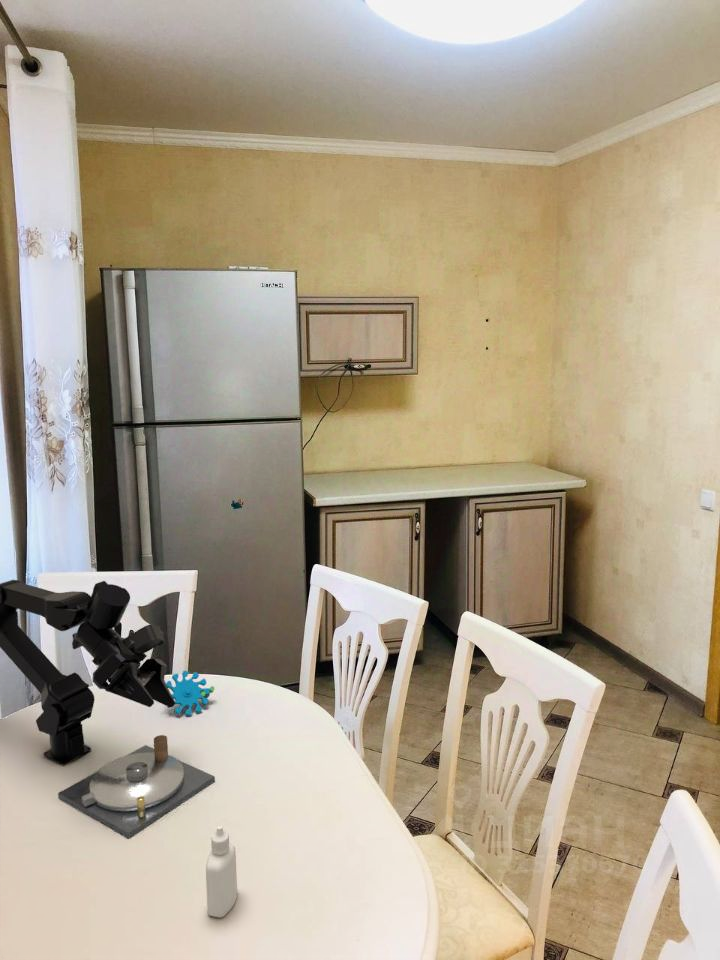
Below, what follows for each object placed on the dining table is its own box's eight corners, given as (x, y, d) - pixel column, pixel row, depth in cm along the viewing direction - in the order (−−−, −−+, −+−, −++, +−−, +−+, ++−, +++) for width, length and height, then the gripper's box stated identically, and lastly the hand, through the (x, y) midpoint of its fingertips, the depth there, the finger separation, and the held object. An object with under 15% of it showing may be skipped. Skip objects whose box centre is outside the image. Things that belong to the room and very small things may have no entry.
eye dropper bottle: (197, 906, 102) (193, 830, 100) (229, 885, 106) (226, 811, 104) (215, 923, 99) (212, 844, 97) (248, 900, 103) (245, 824, 101)
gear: (165, 715, 152) (163, 670, 158) (160, 725, 156) (158, 680, 162) (217, 711, 157) (213, 668, 162) (211, 721, 161) (207, 678, 167)
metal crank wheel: (63, 794, 126) (61, 766, 125) (144, 749, 140) (142, 724, 139) (122, 827, 117) (120, 798, 116) (202, 776, 131) (201, 749, 130)
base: (58, 798, 127) (56, 777, 126) (145, 749, 142) (144, 730, 141) (128, 838, 116) (127, 816, 115) (214, 781, 132) (214, 761, 131)
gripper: (113, 604, 123) (174, 665, 118) (158, 617, 140) (212, 671, 136) (66, 655, 121) (126, 719, 116) (117, 662, 139) (172, 719, 134)
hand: (163, 705), depth 126 cm, fingers open, 9 cm apart
